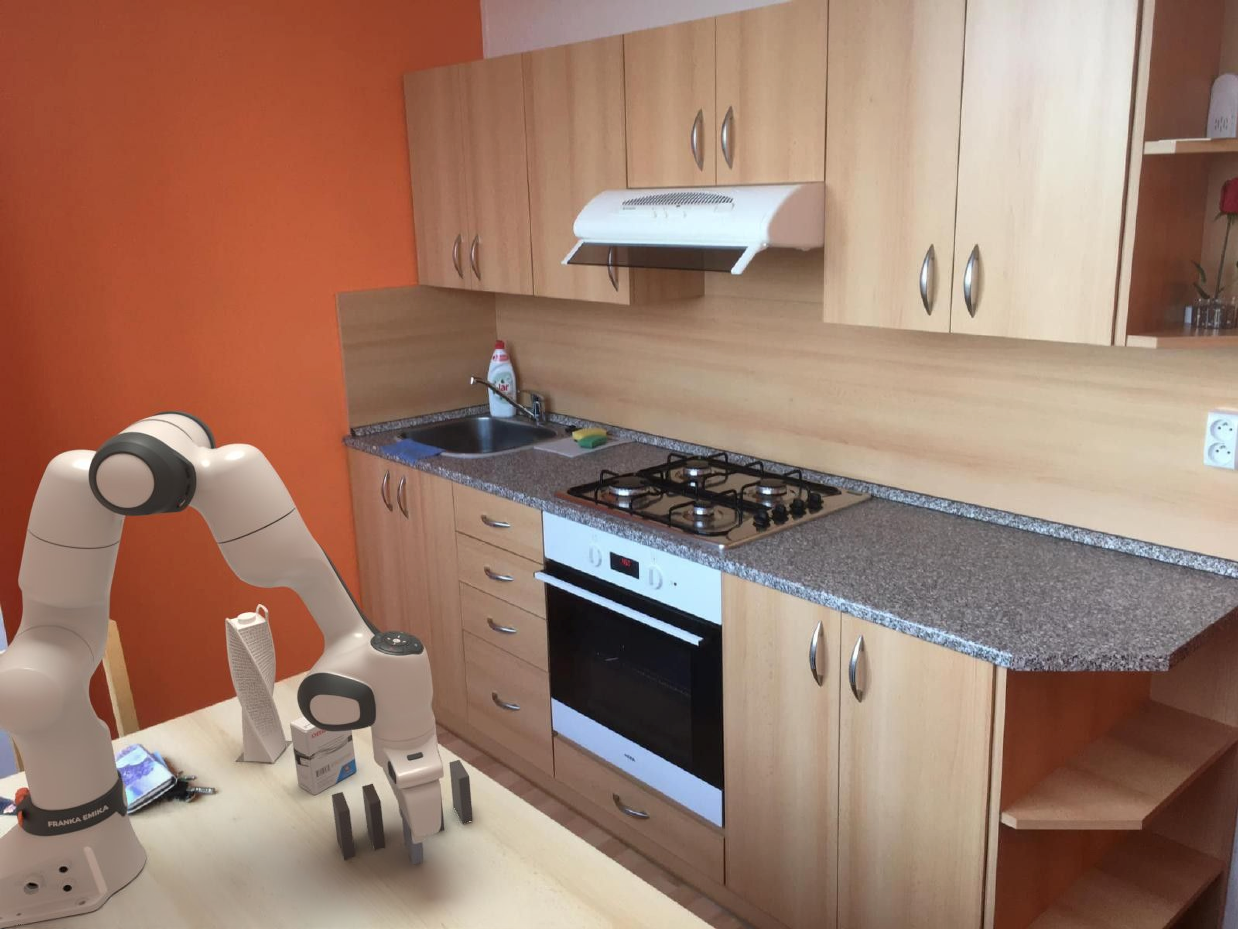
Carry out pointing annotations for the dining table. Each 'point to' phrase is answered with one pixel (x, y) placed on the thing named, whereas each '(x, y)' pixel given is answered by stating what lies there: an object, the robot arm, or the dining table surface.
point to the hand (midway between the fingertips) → (412, 827)
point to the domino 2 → (373, 817)
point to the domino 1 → (343, 825)
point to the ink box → (321, 755)
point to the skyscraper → (255, 686)
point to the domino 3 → (412, 844)
